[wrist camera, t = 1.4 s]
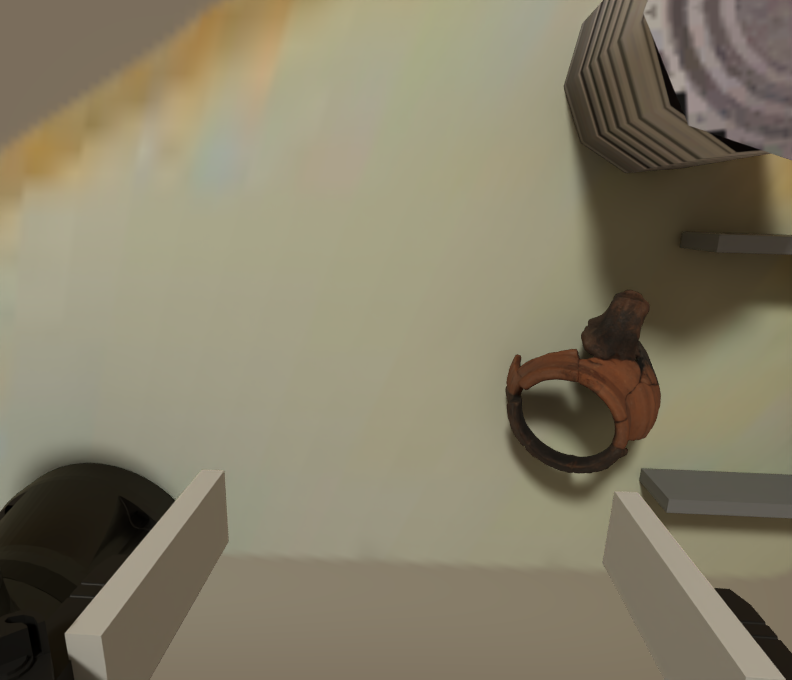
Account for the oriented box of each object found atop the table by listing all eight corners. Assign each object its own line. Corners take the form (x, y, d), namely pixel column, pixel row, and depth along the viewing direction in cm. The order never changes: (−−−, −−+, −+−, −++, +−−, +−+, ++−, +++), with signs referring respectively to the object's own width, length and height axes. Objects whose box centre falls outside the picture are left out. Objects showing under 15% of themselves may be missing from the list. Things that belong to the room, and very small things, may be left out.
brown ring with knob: (639, 438, 36) (621, 511, 30) (516, 390, 40) (477, 446, 33) (706, 288, 30) (702, 339, 24) (554, 249, 34) (516, 285, 28)
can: (538, 152, 31) (614, 115, 19) (598, -55, 28) (731, -244, 16) (711, 195, 31) (889, 185, 20) (788, -5, 28) (1050, -155, 17)
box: (639, 480, 36) (666, 512, 32) (682, 231, 32) (719, 234, 28) (811, 488, 36) (859, 521, 32) (880, 237, 31) (946, 241, 28)
